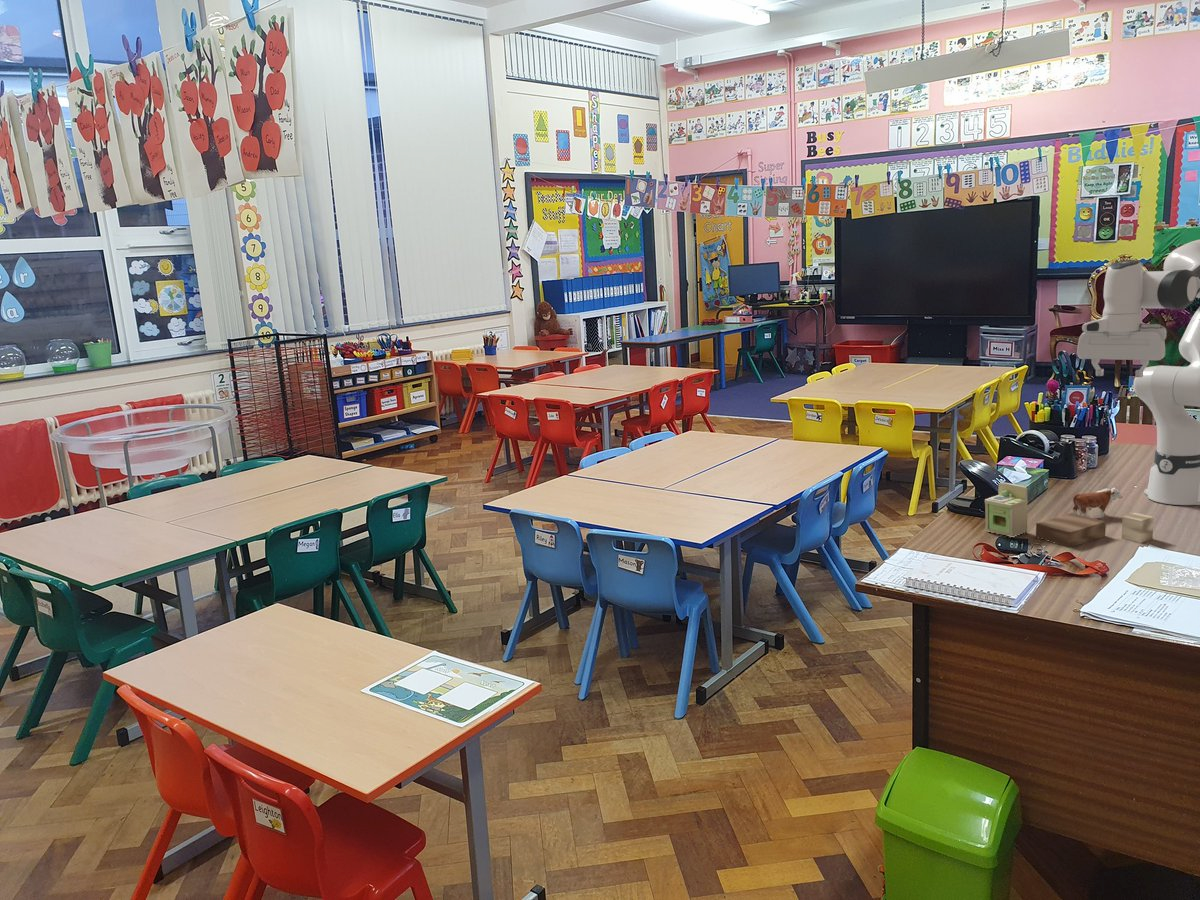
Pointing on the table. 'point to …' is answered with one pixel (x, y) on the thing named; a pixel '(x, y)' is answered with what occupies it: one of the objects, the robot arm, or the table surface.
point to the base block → (1071, 529)
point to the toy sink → (1007, 510)
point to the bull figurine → (1095, 500)
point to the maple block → (1137, 527)
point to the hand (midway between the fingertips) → (1119, 376)
